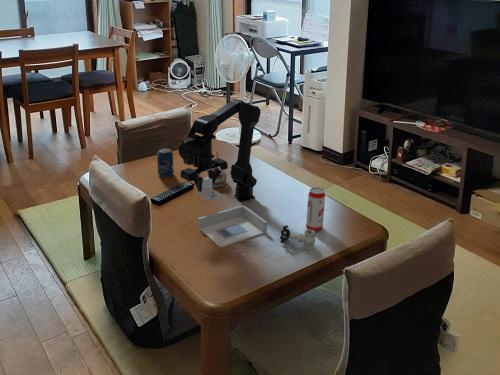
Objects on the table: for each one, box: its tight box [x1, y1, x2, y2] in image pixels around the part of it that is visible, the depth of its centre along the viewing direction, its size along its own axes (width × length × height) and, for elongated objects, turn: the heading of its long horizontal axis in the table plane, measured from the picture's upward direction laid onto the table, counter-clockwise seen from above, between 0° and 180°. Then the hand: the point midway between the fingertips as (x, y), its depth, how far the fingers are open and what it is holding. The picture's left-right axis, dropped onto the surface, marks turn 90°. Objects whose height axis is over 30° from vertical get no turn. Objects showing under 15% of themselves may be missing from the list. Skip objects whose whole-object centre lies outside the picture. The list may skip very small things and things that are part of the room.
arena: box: [197, 204, 268, 248], centre depth 214 cm, size 20×16×5 cm
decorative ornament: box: [212, 151, 228, 188], centre depth 248 cm, size 8×8×15 cm
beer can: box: [305, 187, 326, 233], centre depth 214 cm, size 6×6×16 cm
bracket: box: [197, 176, 223, 202], centre depth 217 cm, size 8×5×6 cm, turn 43°
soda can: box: [156, 147, 175, 179], centre depth 256 cm, size 7×7×12 cm
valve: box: [279, 225, 316, 251], centre depth 205 cm, size 7×7×12 cm
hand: (204, 189), depth 219 cm, fingers closed on bracket, 5 cm apart
